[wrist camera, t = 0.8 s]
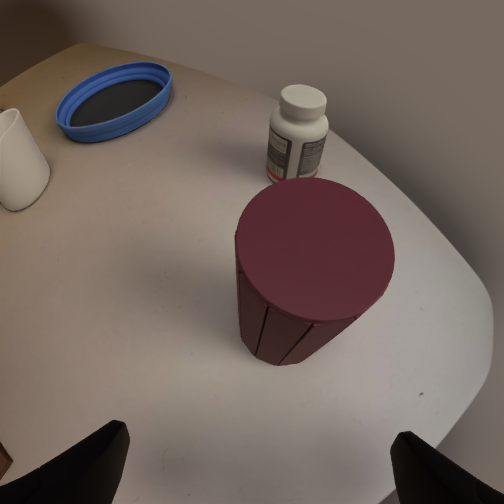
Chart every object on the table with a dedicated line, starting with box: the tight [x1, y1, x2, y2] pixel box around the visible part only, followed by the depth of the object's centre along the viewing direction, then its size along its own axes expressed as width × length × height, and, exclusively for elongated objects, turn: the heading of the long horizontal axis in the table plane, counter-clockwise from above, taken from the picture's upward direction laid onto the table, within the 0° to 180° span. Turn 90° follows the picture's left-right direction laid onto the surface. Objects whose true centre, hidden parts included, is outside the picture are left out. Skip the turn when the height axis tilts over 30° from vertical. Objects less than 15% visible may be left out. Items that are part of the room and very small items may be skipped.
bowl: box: [55, 62, 172, 142], centre depth 36 cm, size 18×18×4 cm
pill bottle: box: [266, 85, 328, 183], centre depth 27 cm, size 5×5×10 cm
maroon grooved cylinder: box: [235, 177, 395, 366], centre depth 18 cm, size 7×7×13 cm
